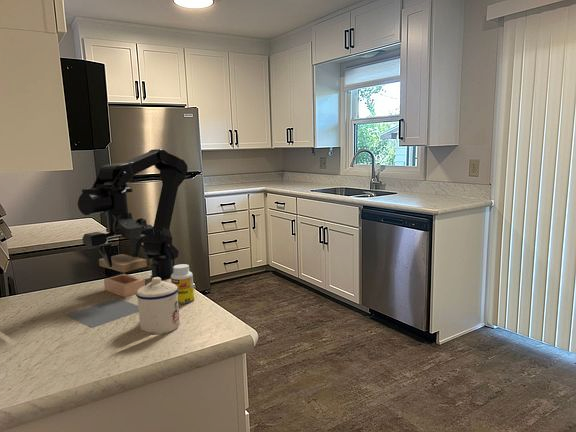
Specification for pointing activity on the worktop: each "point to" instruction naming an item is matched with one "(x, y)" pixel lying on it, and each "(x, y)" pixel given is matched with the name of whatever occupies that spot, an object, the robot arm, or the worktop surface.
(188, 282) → the supplement bottle
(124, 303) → the rubber mat
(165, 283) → the teacup with lid
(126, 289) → the peach open box
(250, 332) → the worktop surface
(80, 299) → the worktop surface
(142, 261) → the tan flat block
